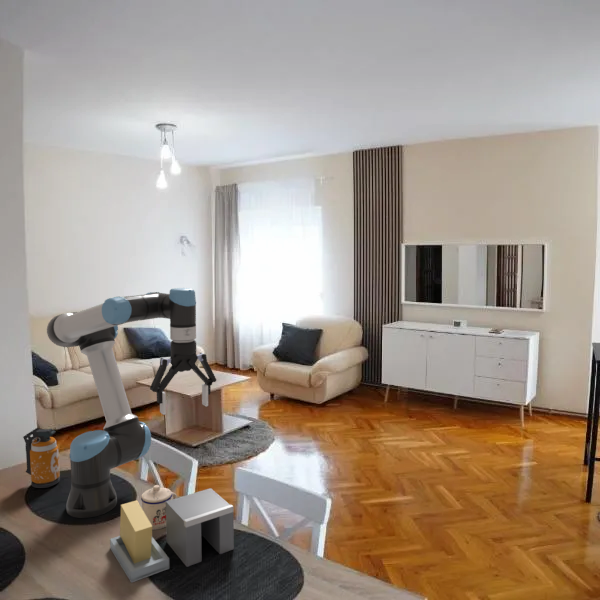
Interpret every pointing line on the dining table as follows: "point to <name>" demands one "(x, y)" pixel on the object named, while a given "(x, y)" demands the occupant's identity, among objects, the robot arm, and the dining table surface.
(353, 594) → the dining table surface
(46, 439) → the canister
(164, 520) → the teacup with lid
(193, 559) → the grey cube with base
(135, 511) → the yellow cuboid
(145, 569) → the tray
